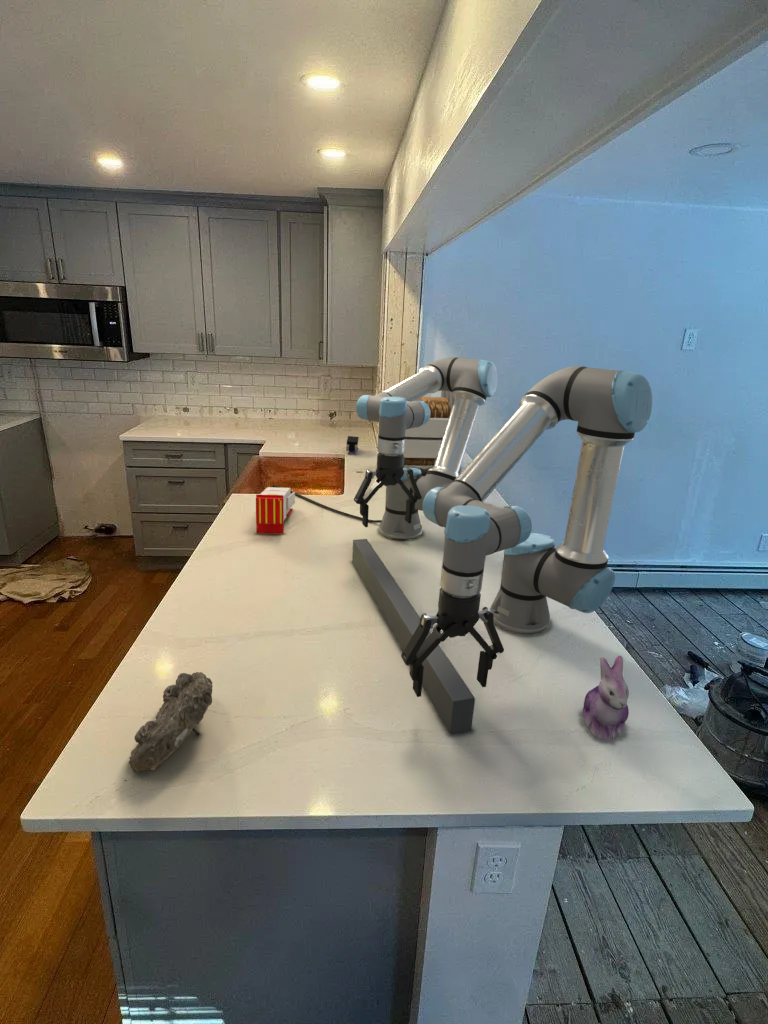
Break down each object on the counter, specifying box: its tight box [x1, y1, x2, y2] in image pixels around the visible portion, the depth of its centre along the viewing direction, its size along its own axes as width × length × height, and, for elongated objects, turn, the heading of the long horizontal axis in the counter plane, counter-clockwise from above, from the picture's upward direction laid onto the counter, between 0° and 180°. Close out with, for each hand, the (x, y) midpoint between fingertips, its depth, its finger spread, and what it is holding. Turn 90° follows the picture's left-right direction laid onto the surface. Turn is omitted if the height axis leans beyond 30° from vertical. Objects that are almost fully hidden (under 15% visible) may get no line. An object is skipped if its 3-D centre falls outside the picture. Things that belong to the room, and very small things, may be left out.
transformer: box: [402, 391, 462, 474], centre depth 268 cm, size 34×33×41 cm
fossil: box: [128, 671, 213, 773], centre depth 102 cm, size 22×10×15 cm
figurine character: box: [345, 435, 360, 455], centre depth 308 cm, size 7×8×15 cm
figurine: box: [581, 654, 630, 741], centre depth 108 cm, size 9×10×15 cm
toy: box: [255, 486, 296, 535], centre depth 206 cm, size 12×13×30 cm
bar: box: [352, 538, 476, 735], centre depth 141 cm, size 78×4×8 cm, turn 17°
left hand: (386, 523), depth 167 cm, fingers open, 13 cm apart
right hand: (449, 687), depth 110 cm, fingers open, 13 cm apart
